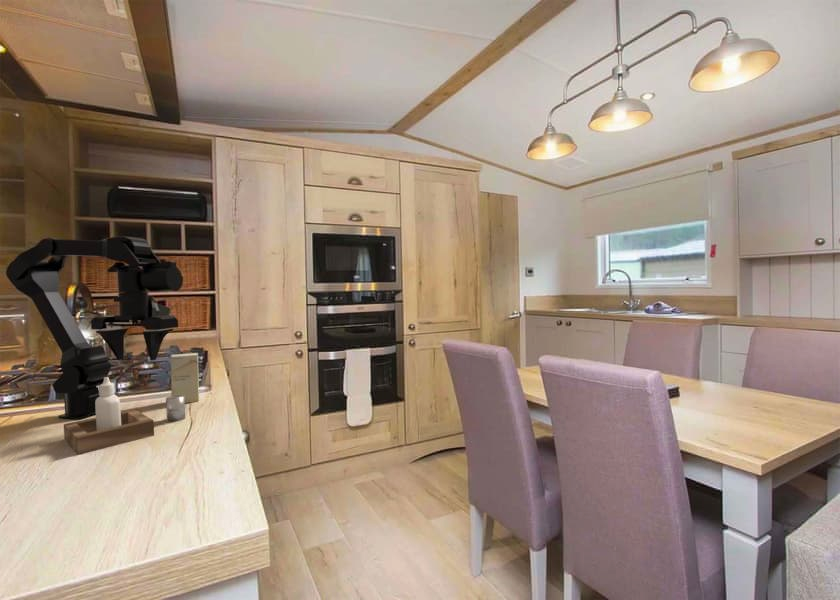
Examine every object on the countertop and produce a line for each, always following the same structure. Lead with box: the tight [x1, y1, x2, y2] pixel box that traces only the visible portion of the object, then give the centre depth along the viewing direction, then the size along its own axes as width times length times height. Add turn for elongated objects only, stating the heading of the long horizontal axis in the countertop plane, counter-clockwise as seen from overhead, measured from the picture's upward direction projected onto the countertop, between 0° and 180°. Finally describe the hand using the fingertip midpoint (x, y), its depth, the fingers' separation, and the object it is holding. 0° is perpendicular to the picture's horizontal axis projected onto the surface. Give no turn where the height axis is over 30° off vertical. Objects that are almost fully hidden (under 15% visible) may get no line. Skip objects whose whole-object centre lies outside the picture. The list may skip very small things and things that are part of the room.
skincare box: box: [170, 352, 200, 404], centre depth 108 cm, size 6×4×12 cm
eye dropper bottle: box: [95, 376, 122, 431], centre depth 83 cm, size 4×6×12 cm
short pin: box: [165, 395, 186, 423], centre depth 93 cm, size 4×4×5 cm
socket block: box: [63, 408, 155, 455], centre depth 83 cm, size 12×12×3 cm
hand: (136, 359), depth 96 cm, fingers open, 9 cm apart
